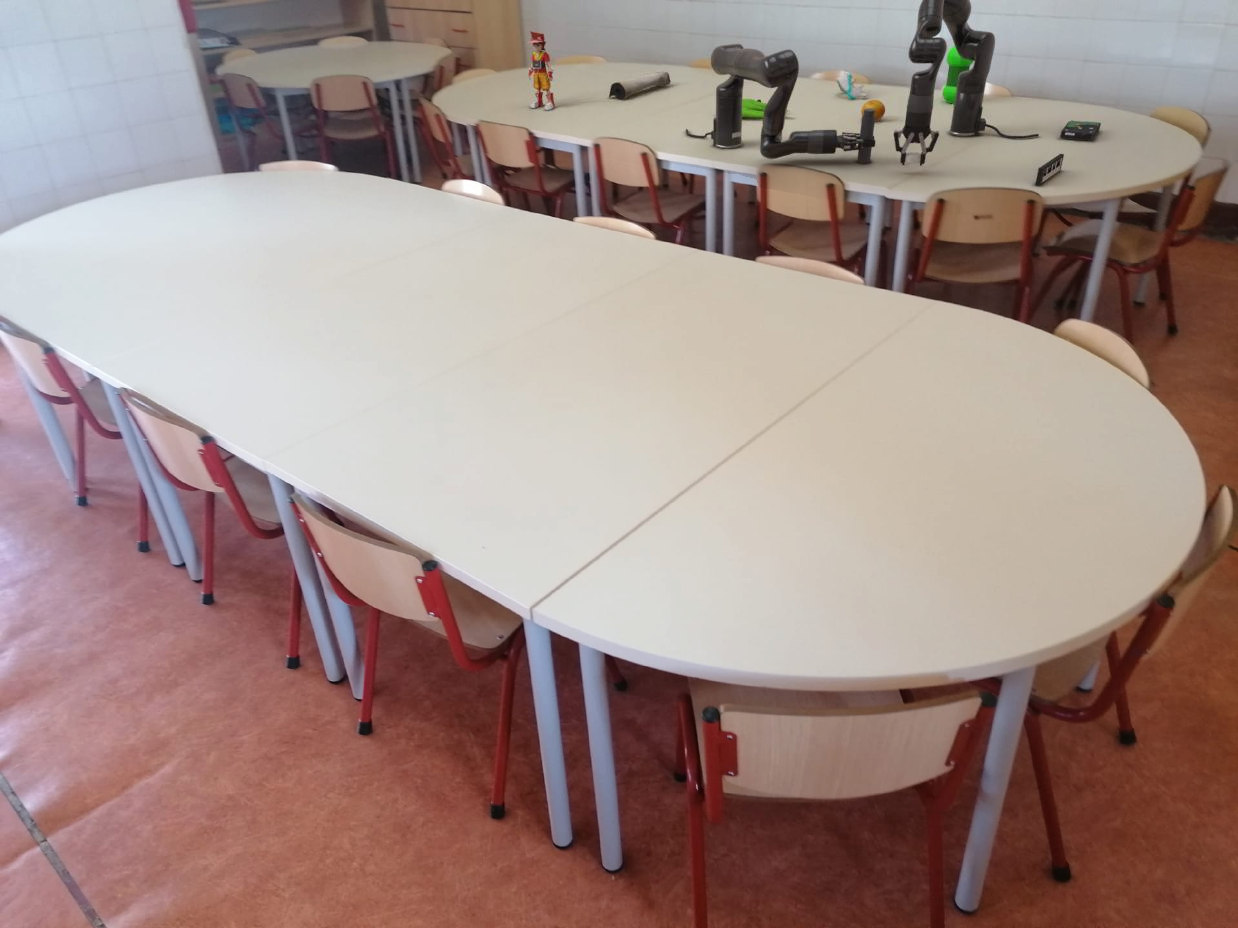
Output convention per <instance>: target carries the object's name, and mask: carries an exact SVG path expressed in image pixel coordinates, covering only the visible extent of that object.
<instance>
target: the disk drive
mask: <svg viewBox="0 0 1238 928" xmlns="http://www.w3.org/2000/svg"><path fill="white" fill-rule="evenodd" d="M1101 125H1102V123H1101V122H1097V121H1096V122H1095V121H1079V120H1070V121H1068V122H1067V123H1066V124H1065V125H1064V127H1063V128H1062V129H1061V131H1060V136H1059V137H1060V139H1061V138H1062V139H1068V140H1077V141H1093V140H1094V138H1095V137H1096V136H1097V134H1098V132H1100V128H1101Z"/></svg>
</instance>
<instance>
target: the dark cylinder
mask: <svg viewBox="0 0 1238 928" xmlns="http://www.w3.org/2000/svg"><path fill="white" fill-rule="evenodd" d="M874 113H875V110H874V109H865V110H864V114H863V116H862V115H861V123H860V132H859V134H860V140H861V139H862V140H873V136H874V131H875V122H876V121H875V116H874ZM872 149H873V147H863V148H861V150H857V160H856V162H857V163H858V164H864V165H865V164H869V163H871V158H872V157H871V156H872Z"/></svg>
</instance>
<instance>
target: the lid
mask: <svg viewBox="0 0 1238 928" xmlns="http://www.w3.org/2000/svg"><path fill="white" fill-rule="evenodd" d="M920 161H921V152H918V151H909V152H906V157H905V164H913V165H914V164H920Z"/></svg>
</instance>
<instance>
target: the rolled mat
mask: <svg viewBox="0 0 1238 928" xmlns="http://www.w3.org/2000/svg"><path fill="white" fill-rule="evenodd" d="M671 83H672V81H671V77H670V74H669V72H668V71H658V72H654V73H649V74H645V75H640V76H637V77H633V78H628V79H623V80H620V81H616V82H613V83H612V84H611V85H610V89H609V95H608V97H609V98H611V97H616V99H620V100H622V101H623V100H626V99H627V98H629V97H630V96H632V95H635V94H636V93H638V92H640V91H643V90H644V89H647V88H650V87H655V86H658V87H659V86H661V87H665V86H669V85H670V84H671Z"/></svg>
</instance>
